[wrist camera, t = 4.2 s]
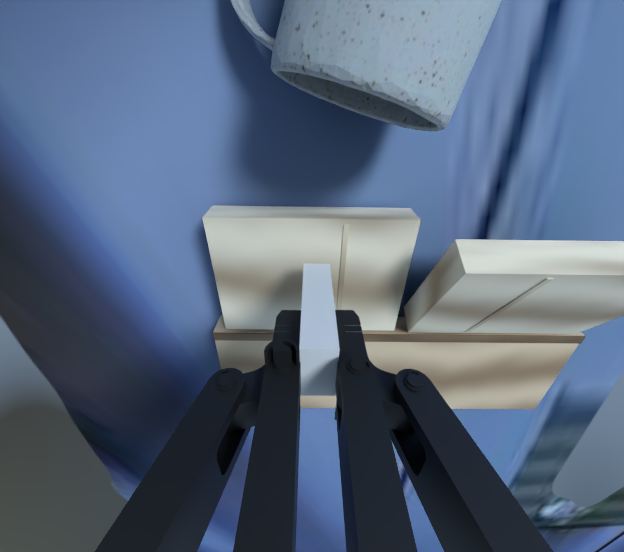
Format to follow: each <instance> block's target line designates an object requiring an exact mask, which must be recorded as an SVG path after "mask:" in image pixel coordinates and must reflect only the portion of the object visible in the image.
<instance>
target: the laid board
mask: <svg viewBox="0 0 624 552" xmlns="http://www.w3.org/2000/svg"><path fill="white" fill-rule="evenodd" d="M362 333H363V337H364V341H365V346H366V350H367V355H368V358H369V360H370V361H371V362H372V364H373V365H374V366H376V367H377V368H379V369H380V370H383V371H386V372H389V373H393V374H396V375H397V373H398V372H399V371H401V370H403V369H414V370H418V371H420V372H422V373H423V374H425V375H426V376H427V377H428V378H429V379H430V380H431V382H432V383H433V384H434V386H435V387H436V389H437V390H438V391H439V393H440V394H441V396H442V397H443V398H444V400H445V401H446V403H447V404H448V405H449V407H450V408H451V409H535V408H536V407H537V405H538V404H539V402H540V401H541V399H542V398H543V396H544V395H545V393H546V392H547V390H548V389H549V388H550V386H551V385H552V383H553V382H554V380H555V379H556V377H557V376H558V374H559V373H560V371H561V370H562V368H563V367H564V365H565V364H566V362H567V361H568V359H569V358H570V356H571V355H572V353H573V352H574V350H575V349H576V347H577V346H578V344H581V343H582V341H583V340H584V338H585V335H584V334H583V333H581V332H579V333H576V334H533V333H421V332H408V330H407V324H406V318H405V317H397V321H396V325H395V329H394V331H380V330H362ZM273 334H274V330H269V329H226V327H225V323H224V318H223V315H220V318H219V320H218V322H217V324H216V326H215V329H214V331H213V337H214V340H215V343H216V348H217V352H218V357H219V362H220V366H221V369H225V368H236V369H238V370H240V371H241V372H242V373H247V372H251V371H254V370H257V369H259V368H261V367H262V366H263V365H264V364H265V358H264V350H265V347H266V346H267V345H268V344H269V343H270V342H272V340H273ZM336 401H337V400H336V395H335V396H301V395H300V408H336Z"/></svg>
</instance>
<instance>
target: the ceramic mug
mask: <svg viewBox="0 0 624 552" xmlns="http://www.w3.org/2000/svg"><path fill="white" fill-rule="evenodd" d="M230 1H231V3H232V5H233V7H234V9H235V12H236V14H237V15H238V17H239V19H240V20H241V23H242V24H243V25H244V26H245V28H246V29H247V30H248V31H249V33H250V34H251V35H252V36H254V37H255V38H256V39H257V40H258V41H259V42H261V43H262V44H263V45H265V46H266V47H267V48H269V49H270V50H271V51H273V52H272V58H271V69H272V71H273V73H274V74H276V75H277V76H278V77H279V78H281V79H283V80H284V81H286V82H287V83H289V84H291V85H293V86H295V87H297V88H298V89H300V90H302V91H305V92H307V93H309V94H311V95H313V96H315V97H318V98H319V99H322V100H326V101H328V102H331V103H333V104H335V105H337V106H340V107H342V108H345V109H348V110H351V111H354V112H356V113H359V114H361V115H364V116H368V117H370V118H374V119H377V120H381V121H384V122H387V123H390V124H394V125H397V126H400V127H404V128H411V129H415V130H423V131H439V130H442V129H444V128H445V127H446V126H447V125H448V123H449V121H450V119H451V117H452V114H453V112H454V110H455V107H456V105H457V102H458V100H459V98H460V95H461V93H462V91H463V89H464V86H465V83H466V81H467V78H468V76H469V74H470V72H471V70H472V68H473V65H474V63H475V61H476V59H477V56H478V54H479V52H480V49H481V47H482V45H483V43H484V40H485V38H486V36H487V33H488V31H489V29H490V26H491V24H492V22H493V20H494V17H495V15H496V13H497V10H498V8H499V5H500V3H501V0H285V2H284V6H283V10H282V15H281V19H280V23H279V27H278V30H277V34H276V38H275V39H274V38H272V37H270V36H269V35H267V34H266V33H265V31H264V30H263V29H262V28H261V27H260V25H259V24H258V22H257V20H256V18H255V17H254V14H253V11H252V7H251V0H230Z"/></svg>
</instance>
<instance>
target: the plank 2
mask: <svg viewBox="0 0 624 552" xmlns="http://www.w3.org/2000/svg"><path fill="white" fill-rule="evenodd" d="M404 312H405V318H406V324H407V330H408V332H421V333H533V334H576V333H579V332H581V331H584V330H587V329H589V328H592V327H594V326H597V325H600V324H602V323H605V322H608V321H610V320H613V319H616V318H618V317H621V316H624V241H554V240H472V239H455V240H454V242H453V243H452V244H451V246H450V247H449V248H448V250H447V251H446V252H445V254H444V255H443V256H442V257H441V259H440V260H439V261H438V263H437V264H436V265H435V267H434V268H433V269H432V271H431V272H430V273H429V275H428V276H427V277H426V279H425V280H424V281H423V283H422V284H421V285H420V287H419V288H418V289H417V291H416V292H415V293H414V295H413V296H412V297H411V298H410V300H409V301H408V302H407V304H406V305H405V306H404Z"/></svg>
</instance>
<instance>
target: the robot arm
mask: <svg viewBox="0 0 624 552" xmlns="http://www.w3.org/2000/svg"><path fill="white" fill-rule="evenodd" d="M264 358H265V364H264V365H263V366H262V367H261V368H259V369H257V370H254V371H251V372H247V373H242V372H241V371H240V370H238V369H236V368H225V369H221V370H220V371H218V372H216V373H215V374H214V375H213V376H212V377H211V378H210V379H209V381H208V382H207V384H206V385H205V387H204V388H203V390H202V391H201V393H200V394H199V396H198V397H197V399H196V400H195V402H194V403H193V405H192V406H191V408H190V409H189V411H188V412H187V414H186V415H185V417H184V418H183V420H182V421H181V423H180V424H179V426H178V427H177V429H176V430H175V432H174V433H173V435H172V436H171V438H170V439H169V441H168V442H167V444H166V445H165V447H164V448H163V450H162V451H161V453H160V454H159V456H158V457H157V459H156V460H155V462H154V463H153V465H152V466H151V468H150V469H149V471H148V472H147V474H146V475H145V477H144V478H143V480H142V481H141V483H140V484H139V486H138V487H137V489H136V490H135V492H134V493H133V495H132V496H131V498H130V499H129V501H128V502H127V504H126V506H125V507H124V508H123V510H122V511H121V513H120V515H119V516H118V517H117V519H116V521H115V522H114V523H113V525H112V527H111V528H110V530H109V531H108V533H107V534H106V536H105V537H104V539H103V540H102V542H101V543H100V545H99V546H98V548H97V549H96V551H95V552H197V550H198V548H199V546H200V543H201V541H202V539H203V536H204V534H205V532H206V530H207V527H208V525H209V523H210V520H211V518H212V516H213V513H214V511H215V509H216V507H217V504H218V502H219V500H220V497H221V495H222V493H223V490H224V488H225V486H226V484H227V481H228V479H229V477H230V474H231V472H232V470H233V468H234V465H235V463H236V461H237V458H238V456H239V454H240V451H241V449H242V447H243V445H244V442H245V440H246V438H247V435H248V433H249V431H250V428H251V427H252V426H255V429H254V435H253V440H252V446H251V452H250V458H249V463H248V469H247V475H246V481H245V486H244V492H243V498H242V504H241V509H240V515H239V521H238V527H237V532H236V538H235V544H234V550H233V552H295V547H296V519H297V490H298V461H299V432H300V395H301V396H335V395H336V400H337V401H336V411H335V420H337V431H338V445H339V458H340V471H341V484H342V497H343V510H344V523H345V536H346V550H347V552H417V548H416V544H415V539H414V535H413V531H412V527H411V522H410V518H409V514H408V510H407V505H406V501H405V497H404V493H403V488H402V484H401V480H400V475H399V471H398V467H397V463H396V458H395V454H394V450H393V446H392V442H393V444H394V446H395V448H396V450H397V453H398V455H399V457H400V459H401V461H402V463H403V465H404V467H405V469H406V472H407V474H408V476H409V478H410V480H411V482H412V484H413V486H414V488H415V491H416V493H417V495H418V497H419V499H420V501H421V503H422V505H423V507H424V510H425V512H426V514H427V516H428V518H429V520H430V522H431V524H432V527H433V529H434V531H435V533H436V535H437V537H438V539H439V541H440V543H441V546H442V548H443V550H444V552H553V551H552V549H551V548H550V546H549V545H548V544H547V542H546V541H545V539H544V538H543V537H542V535H541V534H540V532H539V531H538V530H537V528H536V527H535V526H534V524H533V523H532V521H531V520H530V519H529V517H528V516H527V514H526V513H525V512H524V510H523V509H522V507H521V506H520V505H519V503H518V502H517V500H516V499H515V498H514V496H513V495H512V493H511V492H510V491H509V489H508V488H507V486H506V485H505V484H504V482H503V481H502V479H501V478H500V477H499V475H498V474H497V472H496V471H495V470H494V468H493V467H492V465H491V464H490V463H489V461H488V460H487V458H486V457H485V456H484V454H483V453H482V452H481V450H480V449H479V447H478V446H477V445H476V443H475V442H474V440H473V439H472V438H471V436H470V435H469V433H468V432H467V431H466V429H465V428H464V426H463V425H462V424H461V422H460V421H459V419H458V418H457V417H456V415H455V414H454V412H453V411H452V410H451V408H450V407H449V405H448V404H447V403H446V401H445V400H444V398H443V397H442V396H441V394H440V393H439V391H438V390H437V389H436V387H435V386H434V384H433V383H432V382H431V380H430V379H429V378H428V377H427V376H426V375H425V374H423V373H422V372H420V371H418V370H414V369H403V370H401V371H399V372H398V373H397V375H396V374H393V373H389V372H386V371H383V370H380V369H379V368H377V367H376V366H374V365H373V364H372V362H371V361H370V360H369V358H368V355H367V350H366V346H365V341H364V337H363V333H362V328H361V323H360V319H359V316H358V315H357V314H356V313H355V311H354V310H335V304H334V296H333V287H332V278H331V269H330V264H310V263H304V267H303V286H302V306H301V310H281V312H280V313H279V314H278V315H277V317H276V322H275V328H274V334H273V340H272V342H270V343H269V344H268V345H267V346H266V347H265V350H264ZM391 440H392V441H391Z"/></svg>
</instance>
